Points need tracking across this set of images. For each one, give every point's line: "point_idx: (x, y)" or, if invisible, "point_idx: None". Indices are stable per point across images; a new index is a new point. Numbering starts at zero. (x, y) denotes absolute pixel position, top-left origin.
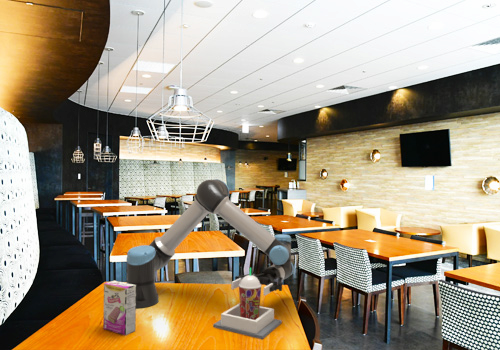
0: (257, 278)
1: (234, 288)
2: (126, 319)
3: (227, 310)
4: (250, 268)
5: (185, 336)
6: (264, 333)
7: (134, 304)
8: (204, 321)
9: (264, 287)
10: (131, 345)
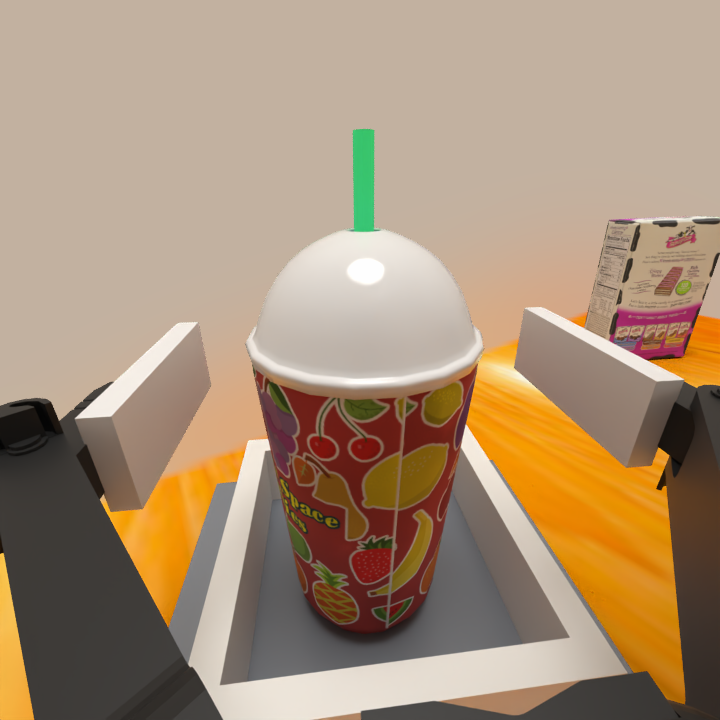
0: (296, 279)
1: (527, 376)
2: (589, 310)
3: (489, 464)
4: (357, 138)
5: (479, 395)
6: (215, 508)
7: (617, 283)
8: (585, 490)
9: (190, 324)
10: (512, 341)
